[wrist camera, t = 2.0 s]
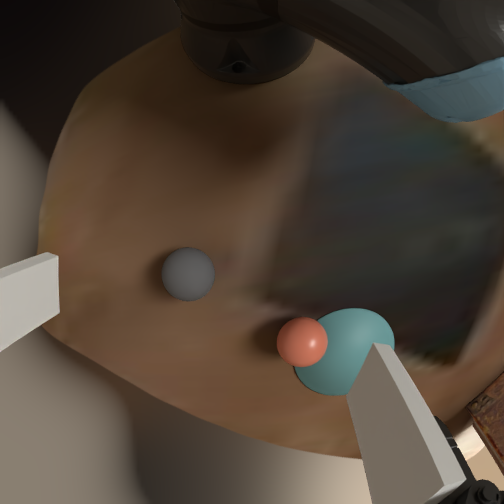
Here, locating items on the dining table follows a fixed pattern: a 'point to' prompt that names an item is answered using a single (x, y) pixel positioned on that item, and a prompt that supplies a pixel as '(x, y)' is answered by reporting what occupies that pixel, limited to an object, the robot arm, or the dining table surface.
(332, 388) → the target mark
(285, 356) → the object ball
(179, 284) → the gray ball
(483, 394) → the book
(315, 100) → the dining table surface
